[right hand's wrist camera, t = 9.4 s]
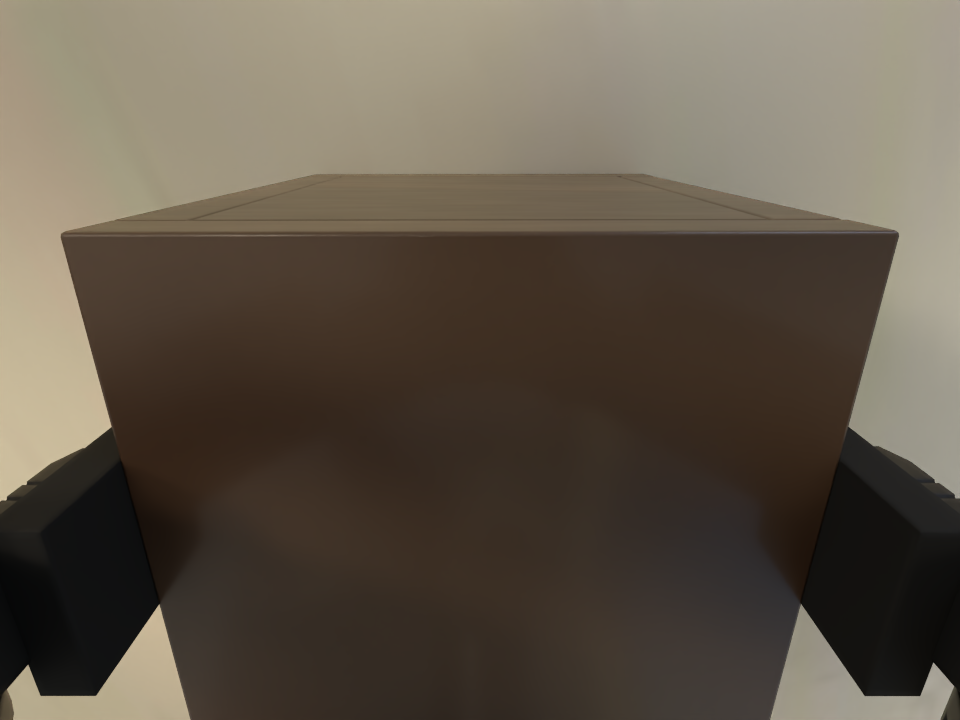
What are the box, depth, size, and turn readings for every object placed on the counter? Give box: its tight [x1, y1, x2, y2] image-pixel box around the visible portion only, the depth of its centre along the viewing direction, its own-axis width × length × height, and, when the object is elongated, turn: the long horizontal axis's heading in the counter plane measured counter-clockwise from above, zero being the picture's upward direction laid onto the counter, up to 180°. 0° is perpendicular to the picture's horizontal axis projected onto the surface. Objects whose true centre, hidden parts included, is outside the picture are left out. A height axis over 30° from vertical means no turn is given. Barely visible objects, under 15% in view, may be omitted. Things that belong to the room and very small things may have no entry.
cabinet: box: [61, 174, 899, 720], centre depth 16 cm, size 20×10×12 cm, turn 0°
